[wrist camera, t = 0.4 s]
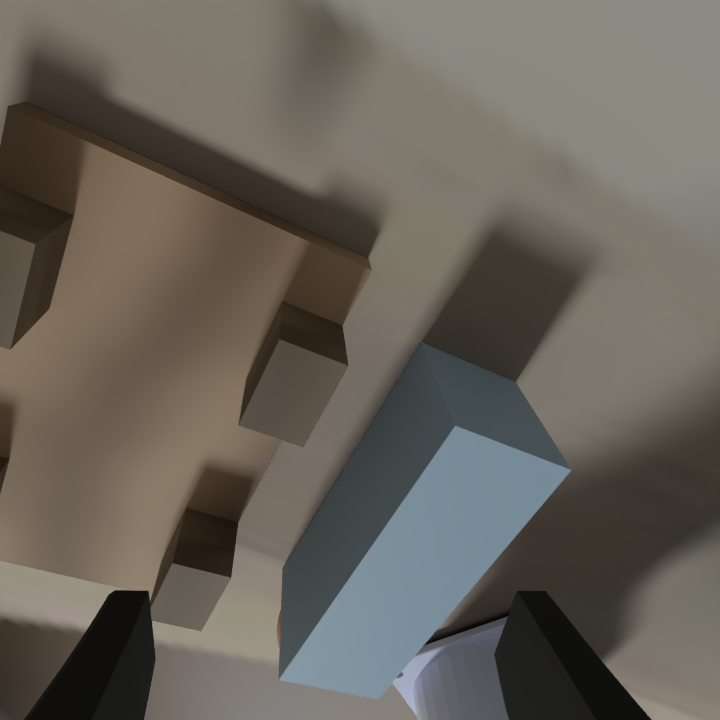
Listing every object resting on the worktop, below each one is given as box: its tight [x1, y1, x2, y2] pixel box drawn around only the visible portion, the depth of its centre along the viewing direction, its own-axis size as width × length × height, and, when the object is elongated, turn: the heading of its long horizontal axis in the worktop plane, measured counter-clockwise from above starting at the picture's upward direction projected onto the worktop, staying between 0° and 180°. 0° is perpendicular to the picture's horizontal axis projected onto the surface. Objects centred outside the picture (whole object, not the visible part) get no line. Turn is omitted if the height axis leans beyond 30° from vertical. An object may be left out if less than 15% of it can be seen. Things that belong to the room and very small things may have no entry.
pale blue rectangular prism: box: [277, 342, 571, 699], centre depth 20 cm, size 4×14×5 cm, turn 153°
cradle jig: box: [0, 102, 372, 631], centre depth 18 cm, size 10×16×4 cm, turn 153°
